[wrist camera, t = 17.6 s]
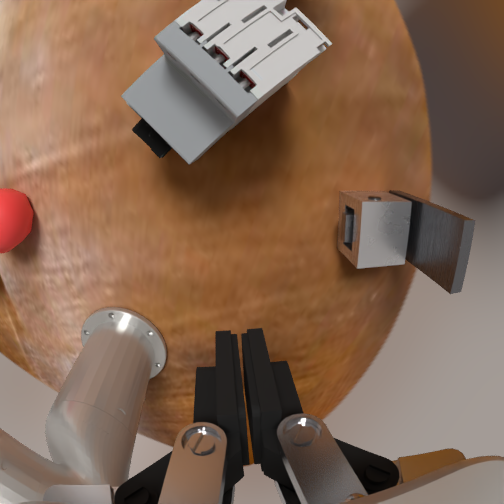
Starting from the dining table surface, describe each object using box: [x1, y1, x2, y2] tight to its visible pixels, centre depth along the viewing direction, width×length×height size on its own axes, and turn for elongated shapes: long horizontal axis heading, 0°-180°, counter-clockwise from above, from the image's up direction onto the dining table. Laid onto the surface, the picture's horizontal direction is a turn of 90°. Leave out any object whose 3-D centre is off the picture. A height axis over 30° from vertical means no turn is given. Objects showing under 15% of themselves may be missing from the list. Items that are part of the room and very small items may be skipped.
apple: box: [0, 189, 34, 253], centre depth 27 cm, size 8×8×8 cm
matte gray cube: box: [337, 191, 412, 269], centre depth 32 cm, size 7×6×6 cm
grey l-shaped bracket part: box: [341, 191, 475, 294], centre depth 29 cm, size 7×9×14 cm
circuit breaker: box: [121, 0, 332, 164], centre depth 22 cm, size 8×14×15 cm, turn 132°
